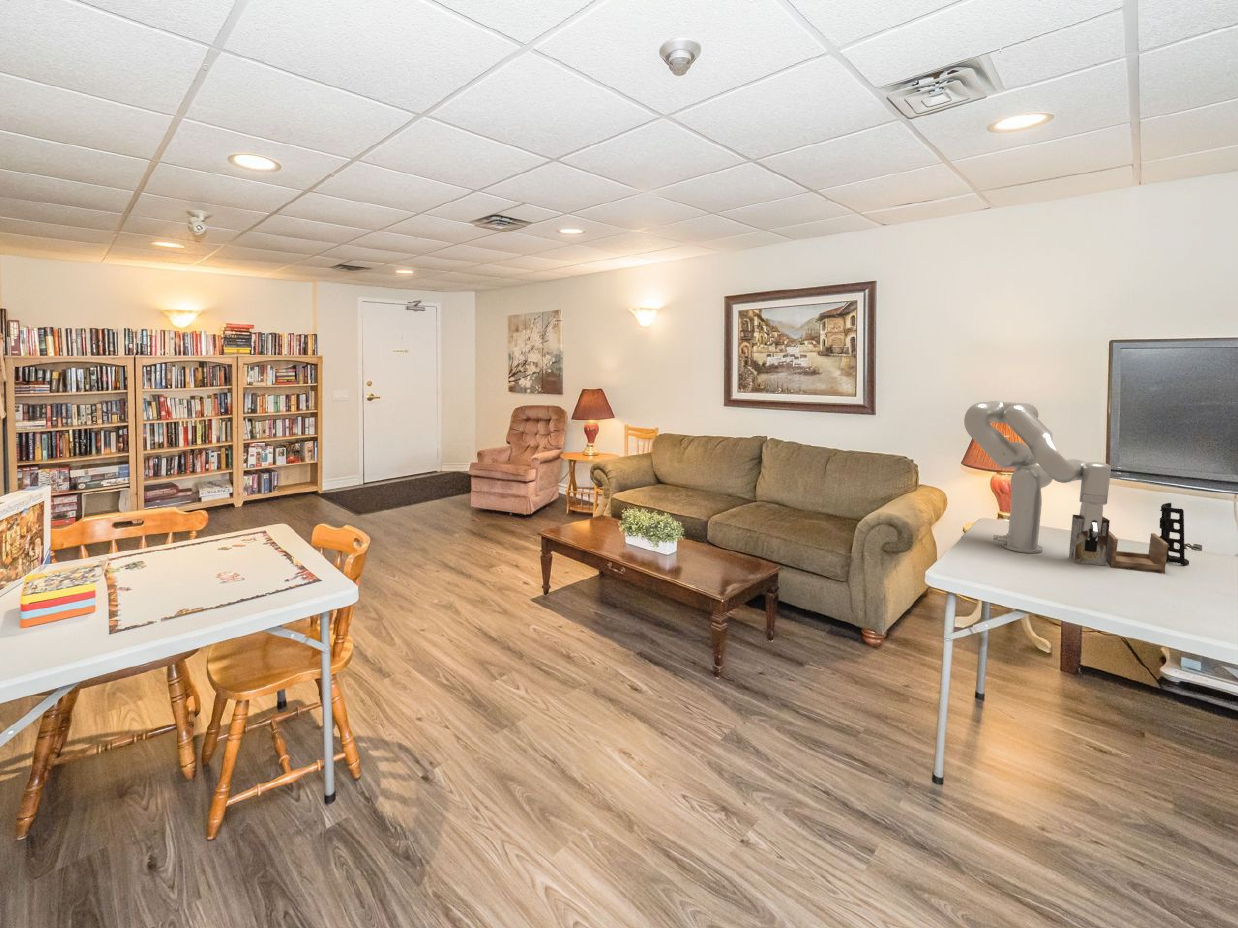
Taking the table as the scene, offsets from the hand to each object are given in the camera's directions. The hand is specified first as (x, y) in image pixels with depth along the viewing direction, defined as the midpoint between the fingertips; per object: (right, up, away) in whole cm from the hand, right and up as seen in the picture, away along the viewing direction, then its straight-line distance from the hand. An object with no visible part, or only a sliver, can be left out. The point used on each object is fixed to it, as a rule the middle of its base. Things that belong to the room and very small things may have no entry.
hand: (1088, 548), depth 210 cm
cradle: (+13, -5, -3) cm, 14 cm away
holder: (+29, -5, 0) cm, 30 cm away
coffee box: (0, -5, +1) cm, 5 cm away
